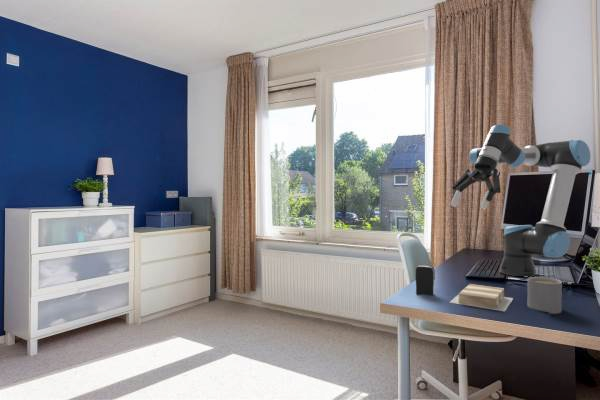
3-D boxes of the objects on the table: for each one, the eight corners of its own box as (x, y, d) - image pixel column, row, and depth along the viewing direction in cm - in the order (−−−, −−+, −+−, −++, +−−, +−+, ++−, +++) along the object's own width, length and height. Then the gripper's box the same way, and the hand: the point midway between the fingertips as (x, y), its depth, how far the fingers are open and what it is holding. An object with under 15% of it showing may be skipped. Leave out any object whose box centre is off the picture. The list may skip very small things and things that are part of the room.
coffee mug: (564, 315, 127) (564, 284, 127) (528, 311, 132) (529, 282, 131) (557, 303, 140) (557, 275, 139) (525, 300, 144) (525, 273, 143)
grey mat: (462, 292, 155) (462, 290, 155) (513, 299, 145) (513, 298, 145) (449, 303, 141) (449, 302, 141) (504, 313, 130) (504, 311, 130)
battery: (435, 294, 153) (435, 265, 152) (433, 297, 150) (433, 267, 149) (417, 292, 157) (417, 264, 156) (415, 294, 153) (415, 265, 153)
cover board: (469, 292, 153) (469, 283, 153) (503, 297, 146) (504, 288, 145) (458, 302, 140) (458, 293, 140) (495, 309, 133) (495, 298, 133)
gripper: (456, 156, 164) (436, 200, 160) (512, 153, 142) (491, 203, 138) (466, 166, 168) (447, 209, 163) (523, 164, 146) (502, 214, 141)
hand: (467, 206), depth 151 cm, fingers open, 13 cm apart
